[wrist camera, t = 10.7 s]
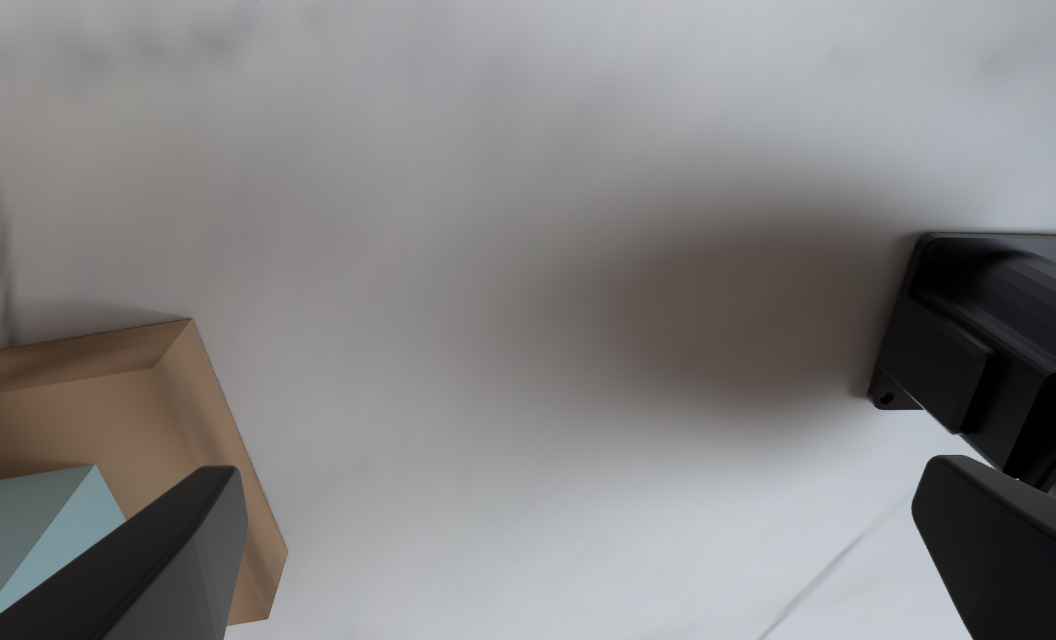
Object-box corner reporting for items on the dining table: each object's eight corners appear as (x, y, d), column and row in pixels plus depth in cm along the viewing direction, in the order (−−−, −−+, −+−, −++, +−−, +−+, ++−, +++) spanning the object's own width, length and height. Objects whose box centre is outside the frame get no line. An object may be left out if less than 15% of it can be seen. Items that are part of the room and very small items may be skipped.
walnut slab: (192, 318, 21) (153, 367, 19) (288, 552, 26) (268, 619, 23) (-131, 371, 21) (-217, 428, 18) (23, 597, 26) (-28, 669, 23)
